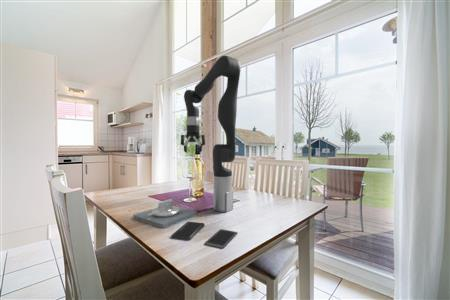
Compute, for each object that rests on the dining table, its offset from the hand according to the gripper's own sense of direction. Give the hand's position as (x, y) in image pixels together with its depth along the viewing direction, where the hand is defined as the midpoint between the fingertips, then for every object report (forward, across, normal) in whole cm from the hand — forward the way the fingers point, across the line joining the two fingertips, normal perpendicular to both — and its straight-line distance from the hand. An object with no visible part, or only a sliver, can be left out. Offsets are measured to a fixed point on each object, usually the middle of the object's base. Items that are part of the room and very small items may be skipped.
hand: (192, 152), depth 129 cm
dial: (+27, +4, +32) cm, 42 cm away
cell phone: (+29, -26, +48) cm, 62 cm away
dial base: (+28, +3, +30) cm, 42 cm away
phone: (+29, -12, +44) cm, 54 cm away
